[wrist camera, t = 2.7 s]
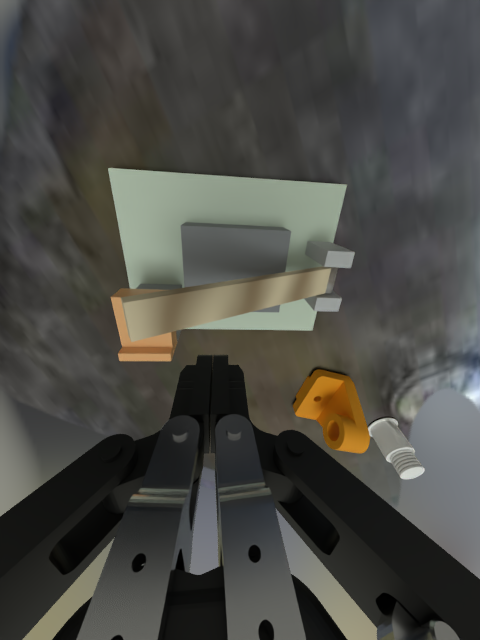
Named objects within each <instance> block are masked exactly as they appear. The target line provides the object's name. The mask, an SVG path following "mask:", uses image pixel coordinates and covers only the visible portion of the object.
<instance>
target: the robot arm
mask: <svg viewBox="0 0 480 640" xmlns="http://www.w3.org/2000/svg"><path fill="white" fill-rule="evenodd" d="M210 427H211V453H215V486H216V508H217V529H218V563H219V567H217V568H215V569H213V570H211V571H209V572H206V573H204V574H202V575H194V574H191V573H189V571H190V564H191V554H192V540H193V531H194V524H195V516H196V510H197V503H198V496H199V489H200V482H201V474H202V469H203V458H204V453H209V447H210ZM275 508H276V509H277V510H278V511H279V513H280V514H281V515H282V516H283V517H284V518H285V520H286V521H287V522H288V523H289V524H290V525H291V527H292V528H293V529H294V530H295V531H296V533H297V534H298V535H299V536H300V537H301V538H302V540H303V541H304V542H305V543H306V544H307V546H308V547H309V548H310V549H311V550H312V551H313V553H314V554H315V555H316V556H317V557H318V559H319V560H320V561H321V562H322V563H323V565H324V566H325V567H326V568H327V569H328V570H329V572H330V573H331V574H332V575H333V576H334V578H335V579H336V580H337V581H338V582H339V584H340V585H341V586H342V587H343V588H344V589H345V591H346V592H347V593H348V594H349V595H350V597H351V598H352V599H353V600H354V601H355V602H356V604H357V605H358V606H359V607H360V608H361V610H362V611H363V612H364V613H365V614H366V615H367V617H368V618H369V619H370V620H371V621H372V623H373V624H374V625H375V626H376V627H377V640H480V579H479V578H478V577H476V576H475V575H474V574H473V573H471V572H470V571H469V570H468V569H467V568H465V567H464V566H463V565H462V564H461V563H459V562H458V561H457V560H456V559H454V558H453V557H452V556H451V555H450V554H448V553H447V552H446V551H445V550H444V549H442V548H441V547H440V546H439V545H437V544H436V543H435V542H434V541H433V540H432V539H430V538H429V537H428V536H427V535H425V534H424V533H423V532H422V531H421V530H419V529H418V528H417V527H416V526H415V525H413V524H412V523H411V522H410V521H409V520H407V519H406V518H405V517H404V516H402V515H401V514H400V513H399V512H398V511H396V510H395V509H394V508H393V507H392V506H390V505H389V504H388V503H387V502H386V501H384V500H383V499H382V498H381V497H379V496H378V495H377V494H376V493H375V492H373V491H372V490H371V489H370V488H369V487H367V486H366V485H365V484H364V483H363V482H361V481H360V480H359V479H358V478H356V477H355V476H354V475H353V474H352V473H350V472H349V471H348V470H347V469H346V468H344V467H343V466H342V465H341V464H340V463H338V462H337V461H336V460H335V459H333V458H332V457H331V456H330V455H329V454H327V453H326V452H325V451H324V450H323V449H321V448H320V447H319V446H318V445H317V444H315V443H314V442H313V441H312V440H310V439H309V438H308V437H307V436H306V435H304V434H303V433H301V432H298V431H295V430H286V431H283V432H281V433H280V434H279V435H278V436H276V435H273V434H269V433H266V432H263V431H261V430H259V429H258V428H256V427H255V426H254V425H253V423H252V422H251V420H250V418H249V413H248V405H247V397H246V389H245V382H244V373H243V371H242V369H241V368H240V367H239V365H228V355H214V357H213V356H212V355H198V357H197V363H196V365H186V367H185V368H184V369H183V370H182V371H181V373H180V377H179V382H178V385H177V390H176V394H175V398H174V402H173V406H172V411H171V415H170V418H169V420H168V421H167V422H166V423H165V424H164V426H163V427H162V429H161V430H160V431H158V432H157V433H155V434H153V435H151V436H148V437H145V438H142V439H139V440H136V441H134V440H133V439H132V437H130V436H128V435H125V434H116V435H112V436H110V437H107V438H106V439H104V440H102V441H101V442H99V443H98V444H97V445H95V446H94V447H93V448H92V449H90V450H89V451H87V452H86V453H85V454H83V455H82V456H81V457H79V458H78V459H77V460H75V461H74V462H73V463H71V464H70V465H69V466H67V467H66V468H65V469H63V470H62V471H61V472H59V473H58V474H57V475H55V476H54V477H53V478H51V479H50V480H49V481H47V482H46V483H44V484H43V485H42V486H40V487H39V488H38V489H37V490H35V491H34V492H33V493H31V494H30V495H28V496H27V497H26V498H25V499H23V500H22V501H20V502H19V503H18V504H16V505H15V506H14V507H12V508H11V509H10V510H9V511H7V512H6V513H4V514H3V515H2V516H1V517H0V640H22V639H23V638H24V637H25V636H26V635H27V634H28V633H29V631H30V630H31V629H32V628H33V627H34V626H35V625H36V624H37V623H38V621H39V620H40V619H41V618H42V617H43V616H44V615H45V614H46V612H48V610H49V609H50V608H51V607H52V606H53V605H54V604H55V603H56V601H57V600H58V599H59V598H60V597H61V596H62V595H63V593H65V591H66V590H67V589H68V588H69V587H70V586H71V585H72V584H73V583H74V582H75V580H76V579H77V578H78V577H79V576H80V575H81V574H82V573H83V572H84V570H85V569H86V568H87V567H88V566H89V565H90V564H91V563H92V562H93V560H94V559H95V558H96V557H97V556H98V555H99V554H100V553H101V552H102V550H103V549H104V548H105V547H106V546H107V545H108V544H109V543H110V542H111V541H112V539H113V538H114V537H115V538H114V541H113V543H112V546H111V549H110V551H109V554H108V557H107V559H106V562H105V565H104V567H103V570H102V573H101V576H100V578H99V581H98V583H97V586H96V589H95V591H94V594H93V596H92V597H91V598H90V599H89V600H88V601H87V602H86V603H85V604H83V605H82V606H81V607H80V608H79V609H78V610H77V611H76V612H75V613H74V615H73V616H72V617H71V618H70V619H69V620H68V621H67V622H66V623H65V624H64V626H63V627H62V628H61V629H60V631H59V632H58V633H57V634H56V636H55V637H54V638H53V639H52V640H347V639H346V637H345V636H344V634H343V633H342V632H341V630H340V629H339V628H338V626H337V625H336V623H335V622H334V621H333V619H332V618H331V616H330V615H329V614H328V612H327V611H326V609H325V608H324V607H323V605H322V604H321V603H320V601H319V600H318V599H317V597H316V596H315V595H314V594H313V593H312V592H311V591H310V589H309V588H308V587H307V586H306V585H305V584H304V583H302V582H301V581H300V580H299V579H298V578H296V577H295V576H294V575H292V574H291V573H290V568H289V564H288V560H287V555H286V551H285V547H284V543H283V539H282V534H281V530H280V526H279V522H278V518H277V513H276V509H275Z"/></svg>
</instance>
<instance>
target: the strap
mask: <svg viewBox="0 0 480 640" xmlns="http://www.w3.org/2000/svg"><path fill="white" fill-rule="evenodd" d="M337 271H338V268H337V267H324V266H321V267H315V268H308V269H302V270H296V271H289V272H283V273H276V274H270V275H263V276H257V277H250V278H244V279H237V280H231V281H224V282H218V283H211V284H205V285H198V286H192V287H185V288H179V289H172V290H166V291H159V292H153V293H146V294H140V295H133V296H127V297H121V302H122V307H123V311H124V316H125V321H126V326H127V331H128V335H129V338H130V340H131V342H134V341H138V340H142V339H146V338H150V337H154V336H158V335H162V334H166V333H170V332H173V331H177V330H181V329H185V328H189V327H193V326H197V325H201V324H205V323H209V322H213V321H217V320H221V319H225V318H229V317H233V316H237V315H241V314H245V313H249V312H253V311H257V310H261V309H265V308H269V307H273V306H277V305H281V304H285V303H289V302H293V301H297V300H300V299H304V298H308V297H312V296H316V295H320V294H324V293H328V294H329V293H332V290H333V286H334V283H335V279H336V275H337Z"/></svg>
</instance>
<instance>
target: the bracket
mask: <svg viewBox="0 0 480 640" xmlns="http://www.w3.org/2000/svg"><path fill="white" fill-rule="evenodd" d="M293 408H294V411H295V414H296V416H298V417H304V418H309V419H315V420H317V421H318V422H319V424H320V425H321V426H322V427H323V436H324V439H325V442H326V444H327V445H328V446H329V447H330V448H331V449H335V450H341V451H347V452H354V453H363V452H365V451H366V450H367V448H368V446H369V442H370V435H369V430H368V427H367V424H366V421H365V417H364V414H363V411H362V408H361V405H360V401H359V398H358V395H357V392H356V388H355V385H354V383H353V381H352V380H351V379H350V377H349V376H345V375H341V374H337V373H333V372H329V371H325V370H320V369H318V370H315V371H314V372H313V374H312V375H311V376H308V377H307V378H306V380H305V382H304V383H303V385H302V387H301V388H300V390H299V391H298V393H297V395H296V401H295V403H294V404H293Z"/></svg>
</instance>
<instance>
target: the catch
mask: <svg viewBox="0 0 480 640" xmlns="http://www.w3.org/2000/svg"><path fill="white" fill-rule="evenodd" d="M159 291H166V290H159V289H122V288H121V289H120V290H119V291H117V292H116V293H115V294H114V295H113V296H112V297H111V300H112V304H113V309H114V313H115V317H116V322H117V326H118V330H119V335H120V339H121V344H122V348H121V350H120V351H119V353H118V356H119V360H120V361H171V360H172V357H173V354H174V351H175V348H176V345H177V335H176V331H173V332H170V333H166V334H162V335H158V336H154V337H150V338H146V339H142V340H138V341H134V342H131V340H130V338H129V335H128V331H127V326H126V321H125V316H124V311H123V307H122V302H121V297H127V296H133V295H140V294H146V293H153V292H159Z"/></svg>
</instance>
